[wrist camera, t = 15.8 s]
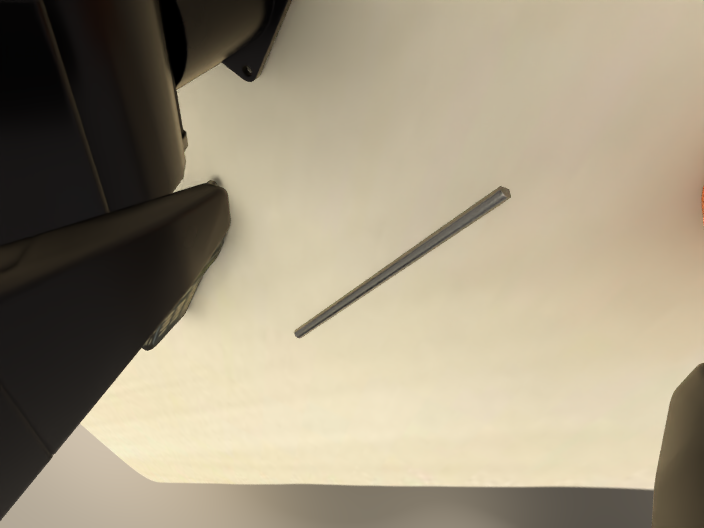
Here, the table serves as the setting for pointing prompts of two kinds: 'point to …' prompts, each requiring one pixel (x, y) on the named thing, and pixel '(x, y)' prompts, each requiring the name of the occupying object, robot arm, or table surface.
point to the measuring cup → (703, 204)
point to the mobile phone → (179, 305)
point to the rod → (409, 257)
